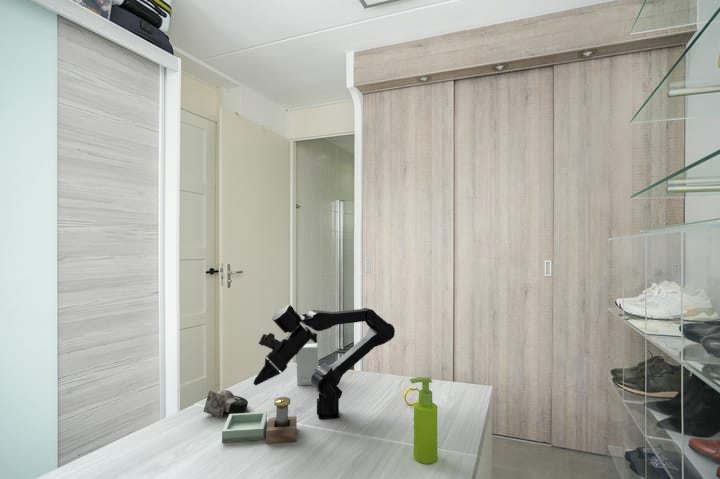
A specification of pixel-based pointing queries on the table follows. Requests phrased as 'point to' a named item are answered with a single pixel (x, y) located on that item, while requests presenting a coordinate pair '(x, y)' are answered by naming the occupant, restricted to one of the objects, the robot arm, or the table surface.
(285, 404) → the pin
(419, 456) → the soap dispenser
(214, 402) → the caster wheel
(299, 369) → the skincare box
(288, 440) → the socket block
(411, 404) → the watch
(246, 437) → the tray
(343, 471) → the table surface
